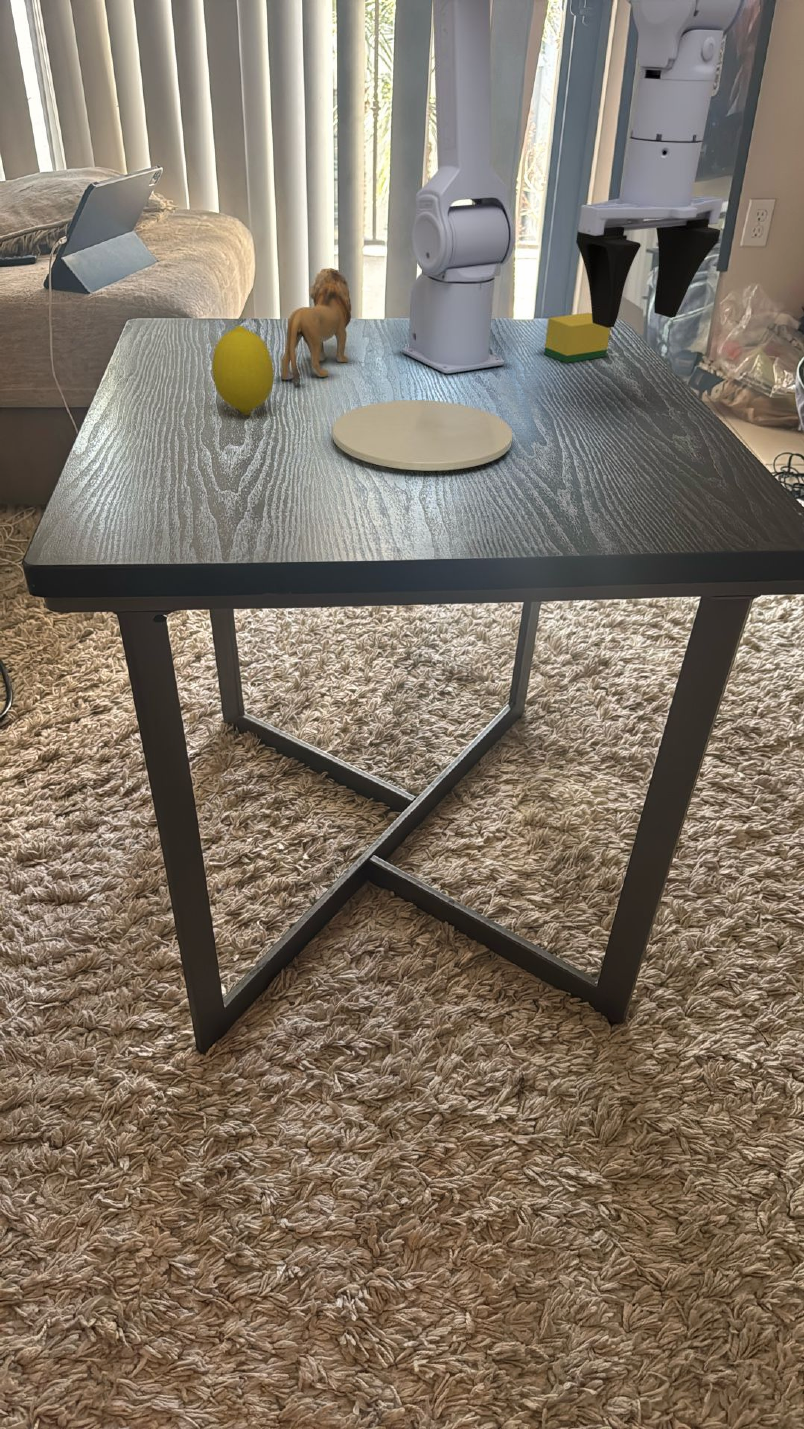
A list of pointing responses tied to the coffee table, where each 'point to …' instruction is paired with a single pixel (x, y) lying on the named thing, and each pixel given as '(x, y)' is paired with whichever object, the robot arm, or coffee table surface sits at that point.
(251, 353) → the lemon
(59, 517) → the coffee table surface
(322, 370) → the lion figurine
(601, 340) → the sponge
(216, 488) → the coffee table surface
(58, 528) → the coffee table surface
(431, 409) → the plate
